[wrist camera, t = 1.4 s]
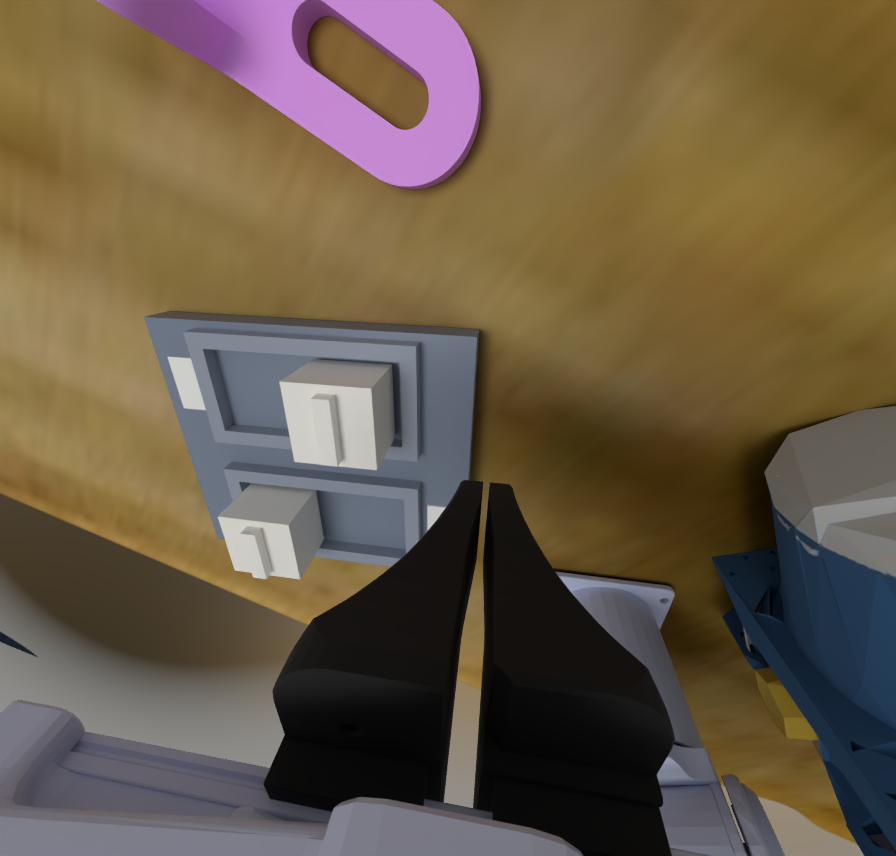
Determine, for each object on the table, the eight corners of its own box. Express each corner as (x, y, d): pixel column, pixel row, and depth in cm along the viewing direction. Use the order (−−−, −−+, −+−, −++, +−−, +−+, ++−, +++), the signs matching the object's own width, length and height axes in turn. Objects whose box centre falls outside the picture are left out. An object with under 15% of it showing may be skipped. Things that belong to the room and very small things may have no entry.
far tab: (324, 539, 25) (295, 588, 21) (265, 532, 25) (228, 578, 22) (315, 488, 23) (282, 533, 19) (252, 481, 23) (209, 523, 20)
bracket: (163, 28, 16) (-62, -105, 9) (192, -170, 13) (-90, -528, 7) (436, 216, 17) (397, 208, 11) (509, 74, 15) (510, -38, 9)
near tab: (395, 437, 20) (372, 477, 17) (323, 430, 21) (287, 469, 17) (392, 364, 18) (366, 394, 15) (313, 359, 19) (271, 386, 16)
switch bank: (465, 552, 26) (461, 580, 24) (232, 523, 28) (210, 547, 26) (479, 329, 19) (475, 341, 17) (168, 311, 21) (130, 320, 19)
